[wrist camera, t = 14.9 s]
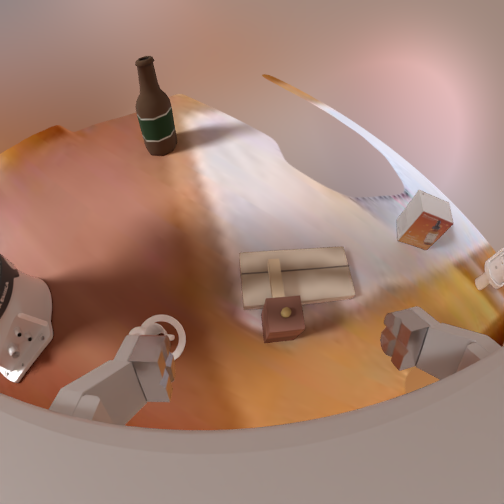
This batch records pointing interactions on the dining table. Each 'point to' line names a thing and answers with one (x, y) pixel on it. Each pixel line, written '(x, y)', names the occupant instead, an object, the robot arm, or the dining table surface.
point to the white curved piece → (162, 331)
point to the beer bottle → (154, 111)
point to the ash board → (297, 275)
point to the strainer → (492, 272)
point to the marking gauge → (280, 310)
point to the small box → (424, 220)
